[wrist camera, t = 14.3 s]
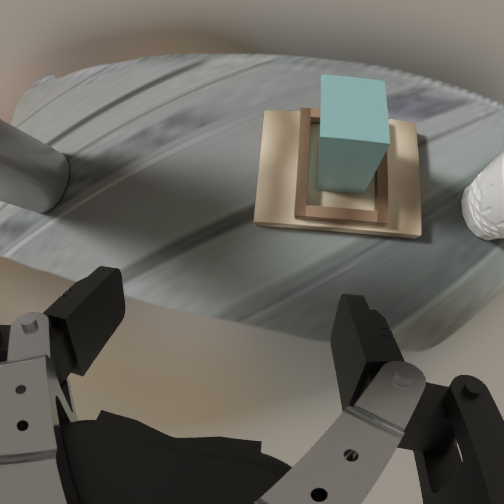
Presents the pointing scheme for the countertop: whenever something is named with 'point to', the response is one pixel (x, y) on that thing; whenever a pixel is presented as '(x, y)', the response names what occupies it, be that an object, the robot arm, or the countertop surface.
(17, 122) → the countertop surface
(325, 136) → the pale teal block
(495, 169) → the white cup
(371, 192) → the tan flat rimmed tray
